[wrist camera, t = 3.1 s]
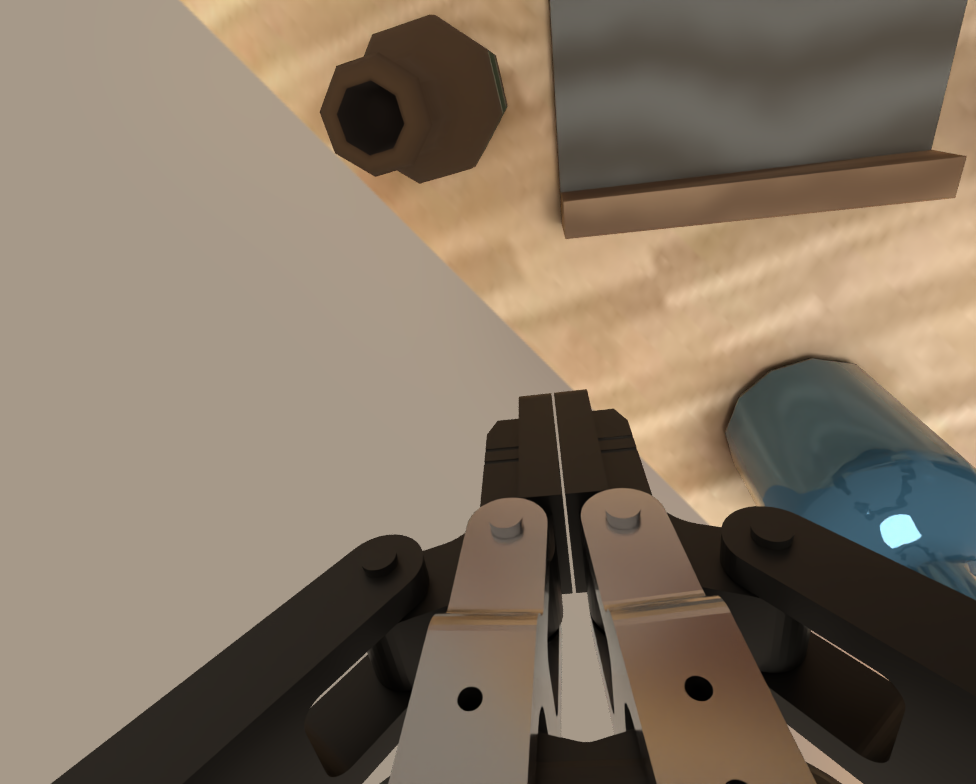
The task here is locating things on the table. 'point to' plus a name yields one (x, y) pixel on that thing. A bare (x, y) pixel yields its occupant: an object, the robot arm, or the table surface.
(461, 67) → the beer bottle
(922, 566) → the wine bottle
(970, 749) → the robot arm
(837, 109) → the cradle
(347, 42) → the table surface
